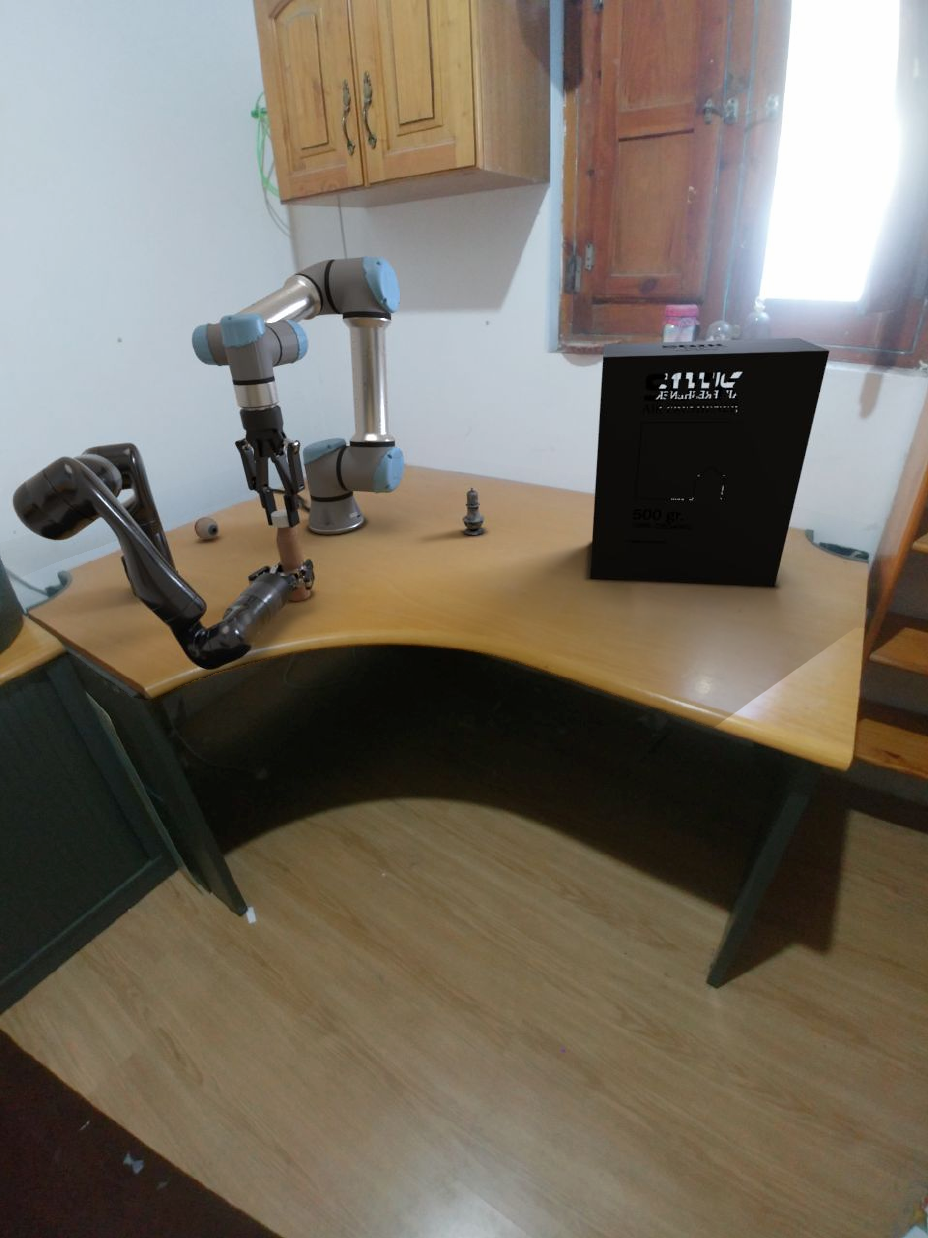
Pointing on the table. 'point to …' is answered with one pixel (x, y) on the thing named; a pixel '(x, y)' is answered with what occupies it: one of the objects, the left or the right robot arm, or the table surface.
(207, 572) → the table surface
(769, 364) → the cardboard box
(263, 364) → the right robot arm
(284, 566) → the bottle
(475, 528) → the salt shaker
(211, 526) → the eyeball
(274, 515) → the cap
